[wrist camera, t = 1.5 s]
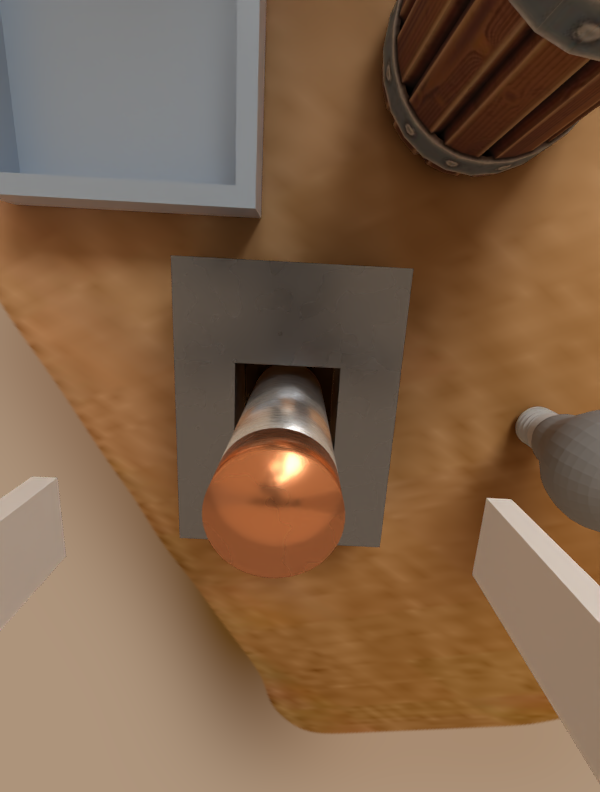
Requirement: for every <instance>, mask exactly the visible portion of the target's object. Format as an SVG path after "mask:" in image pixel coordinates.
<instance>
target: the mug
mask: <svg viewBox="0 0 600 792" xmlns="http://www.w3.org/2000/svg"><path fill="white" fill-rule="evenodd" d="M382 87H383V93H384V98H385V103H386V108H387V109H388V110H389V111H390V112H391V113H392V115H393V117H394V123H393V126H394V128H395V130H396V131H397V133H398V135H399V136H400V138H401V140H402V141H403V143H404V144H405V145H406V146H407V147H408V148H409V149H410V151H411V152H412V153H413V154H419V155H421V156H422V157H423V158H424V160H425V163H426V164H427V165H429V166H431V167H433V168H435V169H437V170H439V171H440V172H444V173H447V174H451V175H455V176H458V175H459V174H460V173H461V174H466V175H470V176H471V177H479V176H488V175H492V174H497V173H500V172H503V171H506V170H508V169H511V168H514V167H517V166H520V165H522V164H524V163H526V162H527V161H528V160H530V159H531V158H533V157H534V156H536V155H537V154H539V153H540V152H542V151H543V150H545V149H546V148H548V147H549V146H550V145H552V144H553V143H555V142H556V141H557V140H559V139H560V138H562V137H563V136H565V135H566V134H567V133H568V132H569V131H570V130H571V129H572V128H573V127H574V126H575V125H576V124H577V123H578V122H579V120H580V119H582V118H583V117H584V116H586V115H587V114H588V113H590V112H591V111H593V110H594V109H595V108H597V107H598V106H599V105H600V0H397V1H396V4H395V6H394V8H393V10H392V12H391V15H390V19H389V23H388V28H387V33H386V37H385V42H384V47H383V66H382Z"/></svg>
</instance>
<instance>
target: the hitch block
mask: <svg viewBox="0 0 600 792" xmlns="http://www.w3.org/2000/svg"><path fill="white" fill-rule="evenodd" d="M171 275H172V307H173V339H174V370H175V402H176V434H177V466H178V497H179V529H180V538H194V539H208V538H207V536H206V533H205V530H204V526H203V521H202V505H203V501H204V497H205V494H206V491H207V489H208V487H209V485H210V482H211V480H212V478H213V476H214V474H215V471H216V469H217V467H218V465H219V463H220V461H221V458H222V456H223V454H224V452H225V450H226V448H227V445H228V443H229V441H230V439H231V437H232V435H233V432H234V430H235V428H236V426H237V424H238V422H239V419H240V417H241V415H242V413H243V411H244V391H245V363H249V364H268V365H287V366H306V367H326V368H334V371H333V385H332V398H331V411H330V424H329V430H330V435H331V440H332V445H333V450H334V455H335V460H336V465H337V471H338V476H339V481H340V486H341V491H342V496H343V501H344V507H345V524H344V530H343V533H342V536H341V538H340V540H339V542H338V544H337V545H344V546H365V547H380V540H381V532H382V524H383V516H384V507H385V499H386V491H387V483H388V474H389V466H390V458H391V450H392V441H393V433H394V425H395V417H396V409H397V400H398V392H399V384H400V376H401V367H402V359H403V351H404V343H405V334H406V326H407V318H408V310H409V301H410V293H411V285H412V277H413V269H410V268H391V267H373V266H355V265H337V264H318V263H300V262H282V261H263V260H245V259H227V258H208V257H190V256H172V255H171Z"/></svg>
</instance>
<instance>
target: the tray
mask: <svg viewBox="0 0 600 792" xmlns="http://www.w3.org/2000/svg"><path fill="white" fill-rule="evenodd" d="M266 2H267V0H0V200H1V201H5V202H8V203H12V204H15V205H32V206H50V207H68V208H86V209H104V210H122V211H140V212H158V213H176V214H193V215H211V216H229V217H247V218H261V206H262V165H263V124H264V83H265V43H266Z"/></svg>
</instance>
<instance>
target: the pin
mask: <svg viewBox="0 0 600 792" xmlns="http://www.w3.org/2000/svg"><path fill="white" fill-rule="evenodd" d="M202 521H203V526H204V530H205V533H206V536H207V538H208V540H209V542H210V543H211V545H212V547H213V548H214V549H215V551H216V552H217V553H218V554H219V555H220V556H221V557H222V558H223V559H224V560H225V561H227V562H228V563H229V564H230V565H232V566H234V567H235V568H237V569H239V570H241V571H243V572H246V573H249V574H252V575H255V576H260V577H267V578H283V577H290V576H295V575H298V574H301V573H304V572H306V571H308V570H310V569H312V568H314V567H316V566H317V565H319V564H320V563H322V562H323V561H324V560H325V559H326V558H327V557H328V556H329V555H330V554H331V553H332V552H333V550H334V549H335V547H336V546H337V544H338V542H339V540H340V538H341V536H342V533H343V530H344V524H345V507H344V501H343V496H342V491H341V486H340V481H339V476H338V471H337V465H336V460H335V455H334V450H333V445H332V440H331V435H330V430H329V425H328V420H327V415H326V410H325V404H324V399H323V394H322V389H321V386H320V383H319V381H318V379H317V378H316V376H315V375H314V374H313V373H312V372H311V371H310V370H309V369H307V368H306V367H304V366H287V365H274V366H272V367H270V368H268V369H267V370H266V371H264V372H263V373H262V375H261V376H260V377H259V379H258V381H257V382H256V385H255V387H254V389H253V391H252V393H251V396H250V398H249V400H248V402H247V404H246V406H245V409H244V411H243V413H242V415H241V417H240V419H239V422H238V424H237V426H236V428H235V430H234V432H233V435H232V437H231V439H230V441H229V443H228V445H227V448H226V450H225V452H224V454H223V456H222V458H221V461H220V463H219V465H218V467H217V469H216V471H215V474H214V476H213V478H212V480H211V482H210V485H209V487H208V489H207V491H206V494H205V497H204V501H203V505H202Z"/></svg>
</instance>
